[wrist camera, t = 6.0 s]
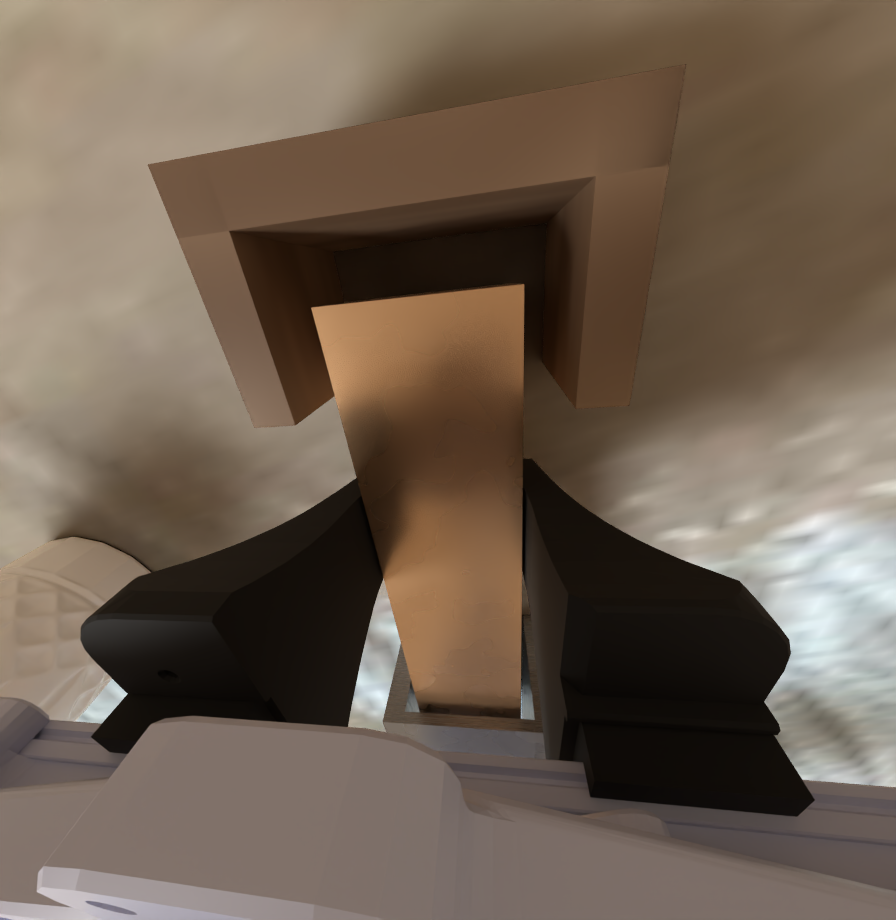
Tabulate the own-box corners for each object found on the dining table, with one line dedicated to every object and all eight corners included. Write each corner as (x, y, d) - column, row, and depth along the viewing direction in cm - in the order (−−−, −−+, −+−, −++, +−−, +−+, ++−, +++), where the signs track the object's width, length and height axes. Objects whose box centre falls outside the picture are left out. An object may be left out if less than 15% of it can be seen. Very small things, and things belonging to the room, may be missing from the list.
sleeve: (535, 711, 20) (548, 824, 16) (429, 705, 21) (416, 810, 17) (539, 615, 16) (558, 734, 12) (408, 612, 17) (382, 722, 13)
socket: (574, 359, 10) (629, 405, 6) (333, 378, 11) (254, 427, 7) (590, 167, 8) (686, 63, 4) (289, 214, 9) (147, 164, 5)
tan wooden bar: (513, 637, 17) (520, 732, 13) (435, 635, 17) (423, 725, 14) (509, 283, 9) (524, 284, 6) (373, 298, 10) (311, 307, 6)
